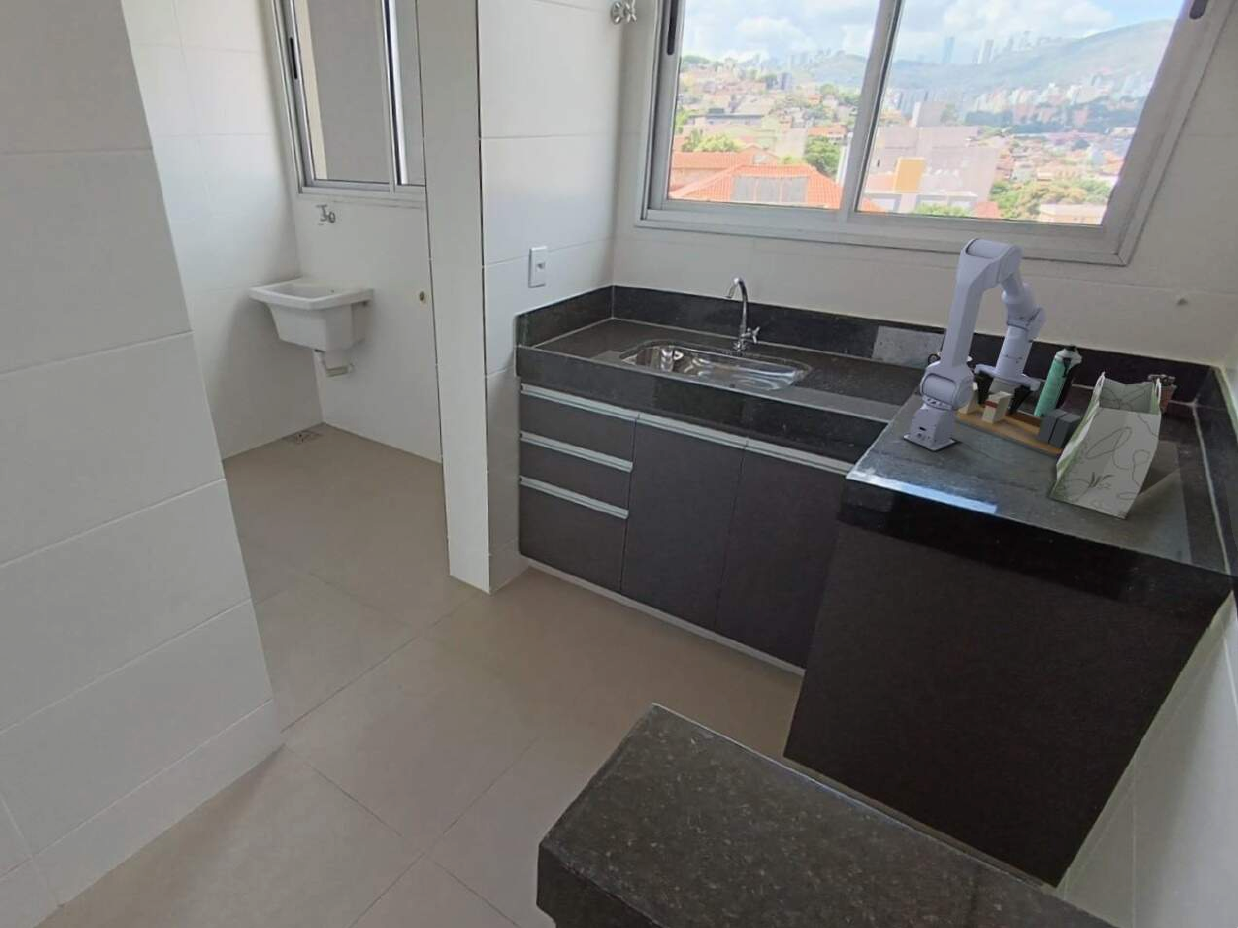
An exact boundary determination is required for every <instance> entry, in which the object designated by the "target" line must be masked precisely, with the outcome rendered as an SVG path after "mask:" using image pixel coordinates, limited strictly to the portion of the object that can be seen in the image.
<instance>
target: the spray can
mask: <svg viewBox="0 0 1238 928" xmlns="http://www.w3.org/2000/svg"><path fill="white" fill-rule="evenodd" d="M1078 352H1079V351H1078V350H1077V345H1076V344H1068V345H1067V347H1065V348H1063V350H1061V351H1056V354H1055V355H1054V357H1053V360H1052V362H1051V366H1050V369H1049V370H1048V373H1047V377H1046V379H1045V382H1044V385H1043V388H1042V391H1041V394H1040V396H1039V399H1038V402H1037V405H1036V407H1035V411H1034V413H1033V415H1035V416H1038V417H1041V418H1044V416H1045V414H1046V413H1049V412H1051V411H1053V410H1056V409H1059V410H1062V411H1064V407H1065V405H1066V403H1067V400H1068V396H1069V394H1070V391H1071V389H1072V386H1073V384H1074V381H1075V378H1076V376H1077V373H1078V370H1079V367H1080V365H1081V363H1082V358H1083V356H1082V355H1080V354H1079V353H1078Z"/></svg>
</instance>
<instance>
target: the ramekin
mask: <svg viewBox="0 0 1238 928" xmlns="http://www.w3.org/2000/svg"><path fill="white" fill-rule="evenodd" d="M1022 375H1024V376H1027V375H1026V374H1024V373H1022ZM1017 387H1020V386H1019V385H1016V384H1013V383H1010V382H1006V381H1003V380H1000V379H997V378H994V380H993V382H992V384H991V386H990V389H989V391H988V392H990V393H993V394H995V393H998V392H1001V391H1003V392H1006V393H1009V394H1012V396H1011V399H1013V397H1014V389H1015V388H1017Z"/></svg>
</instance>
